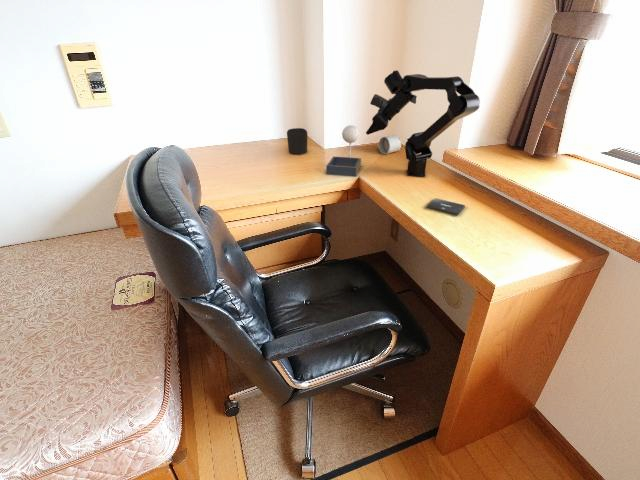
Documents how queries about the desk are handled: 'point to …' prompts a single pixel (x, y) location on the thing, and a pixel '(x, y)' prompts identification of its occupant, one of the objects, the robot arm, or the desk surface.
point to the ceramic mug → (389, 144)
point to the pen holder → (297, 141)
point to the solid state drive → (446, 206)
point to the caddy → (344, 166)
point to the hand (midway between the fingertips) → (368, 130)
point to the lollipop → (350, 135)
